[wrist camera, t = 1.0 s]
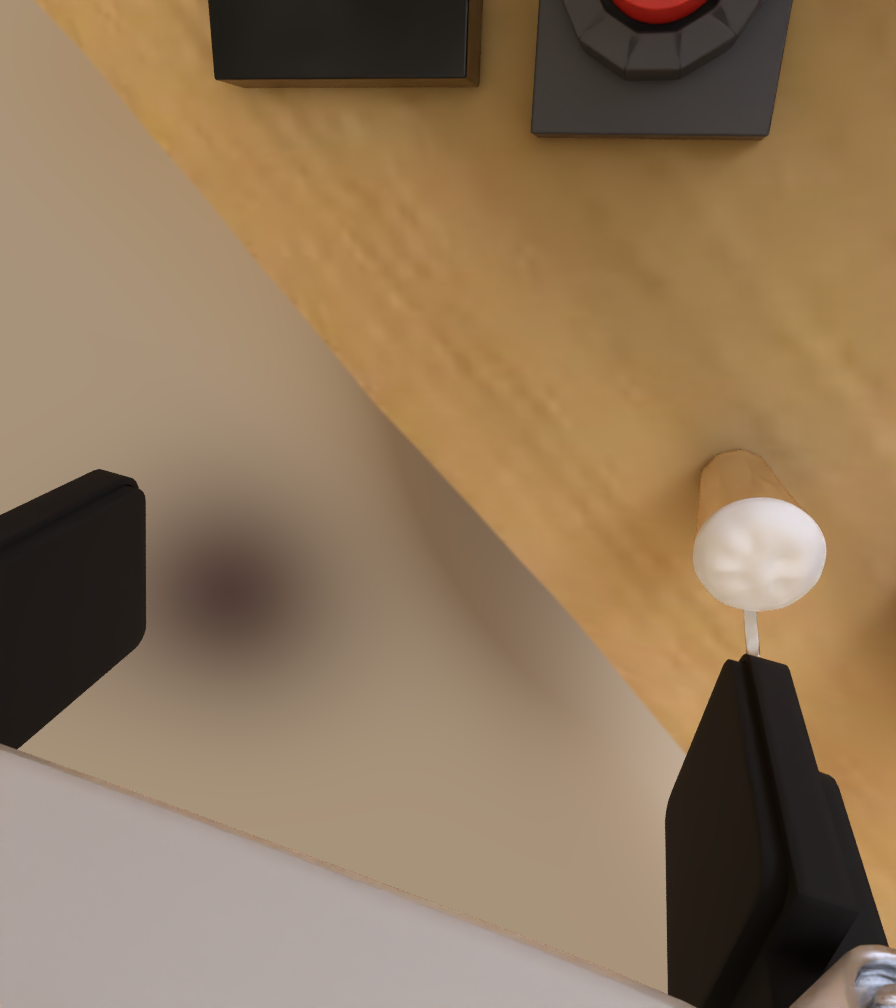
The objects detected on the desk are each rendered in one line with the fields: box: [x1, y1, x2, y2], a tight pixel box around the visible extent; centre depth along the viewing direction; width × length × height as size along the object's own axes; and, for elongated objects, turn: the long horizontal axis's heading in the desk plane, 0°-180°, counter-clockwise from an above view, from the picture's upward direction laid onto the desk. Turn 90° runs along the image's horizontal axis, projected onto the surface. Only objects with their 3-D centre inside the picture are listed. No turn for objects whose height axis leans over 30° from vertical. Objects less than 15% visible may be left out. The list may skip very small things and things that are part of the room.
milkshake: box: [693, 449, 826, 657], centre depth 30 cm, size 4×5×10 cm
